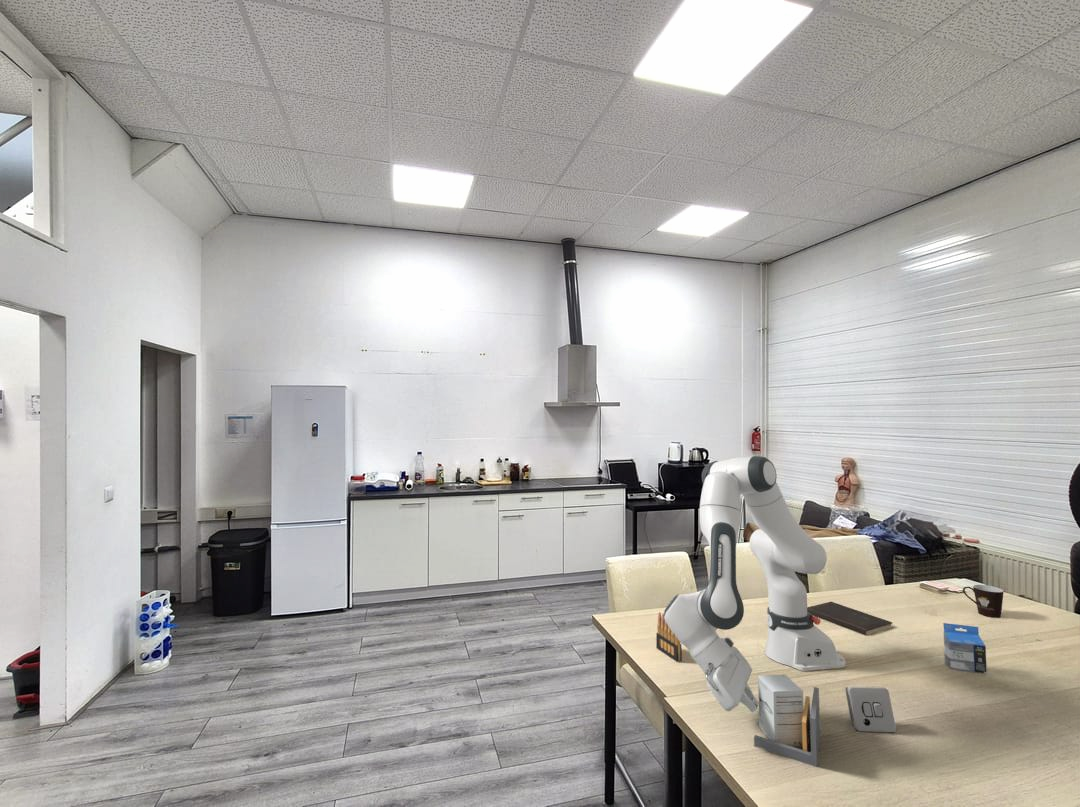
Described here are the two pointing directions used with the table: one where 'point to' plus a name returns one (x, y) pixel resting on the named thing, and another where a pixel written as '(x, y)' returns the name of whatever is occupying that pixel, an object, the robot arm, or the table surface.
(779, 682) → the supplement box
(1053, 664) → the table surface
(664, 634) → the ammunition clip
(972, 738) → the table surface
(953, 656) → the ink cartridge box
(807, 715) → the orange flat slab
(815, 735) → the holder
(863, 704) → the electrical switch
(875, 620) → the hardcover book
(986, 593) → the coffee mug
